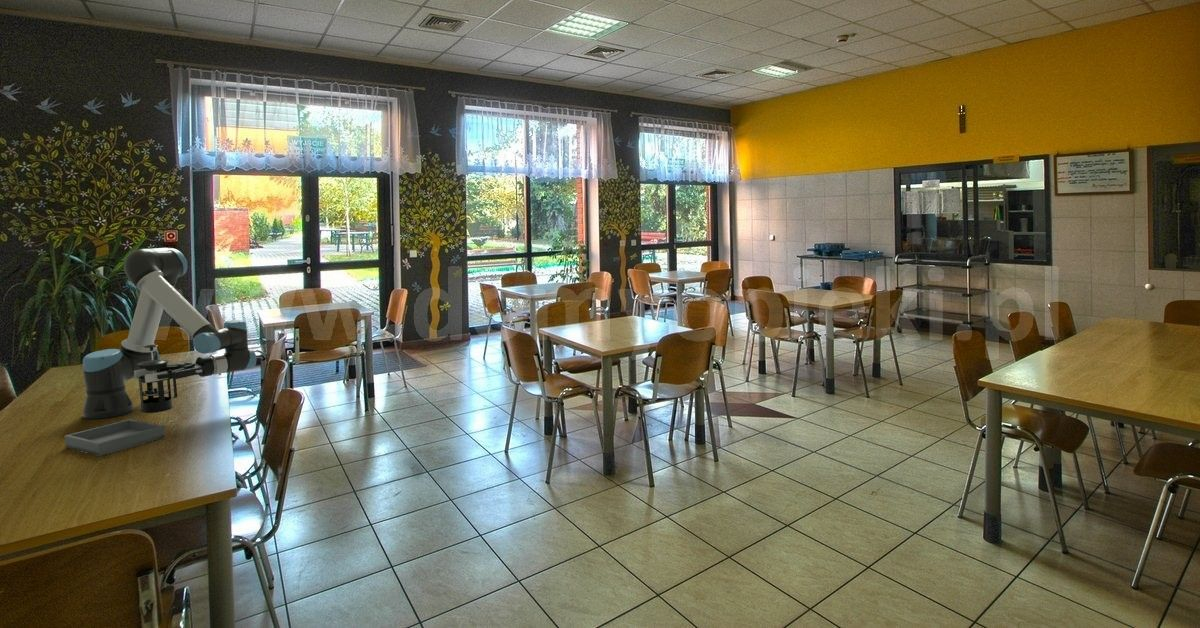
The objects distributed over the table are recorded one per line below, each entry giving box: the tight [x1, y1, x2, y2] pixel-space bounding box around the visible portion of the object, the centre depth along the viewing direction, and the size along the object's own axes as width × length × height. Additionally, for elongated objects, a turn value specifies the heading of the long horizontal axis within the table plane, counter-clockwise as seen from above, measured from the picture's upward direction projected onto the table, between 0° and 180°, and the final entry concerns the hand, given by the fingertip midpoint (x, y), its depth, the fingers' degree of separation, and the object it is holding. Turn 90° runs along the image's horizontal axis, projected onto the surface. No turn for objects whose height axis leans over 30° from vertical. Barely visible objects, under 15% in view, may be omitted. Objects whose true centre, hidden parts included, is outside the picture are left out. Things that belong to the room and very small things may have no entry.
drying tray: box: [64, 418, 166, 457], centre depth 205 cm, size 19×19×4 cm
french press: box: [137, 344, 178, 414], centre depth 222 cm, size 12×9×23 cm
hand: (140, 376), depth 218 cm, fingers closed on french press, 8 cm apart
